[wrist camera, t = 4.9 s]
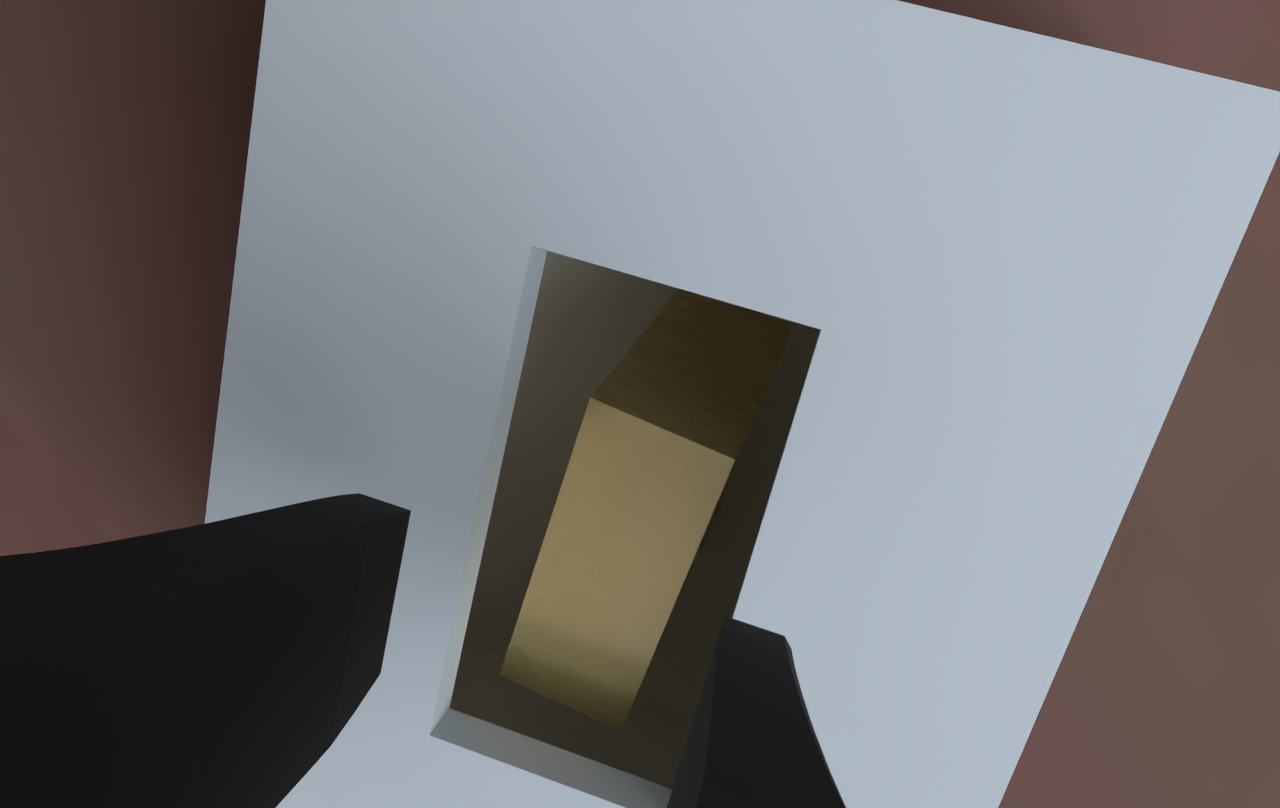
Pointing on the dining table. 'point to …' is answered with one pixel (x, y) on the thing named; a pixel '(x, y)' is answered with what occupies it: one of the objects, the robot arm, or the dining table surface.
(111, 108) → the dining table surface
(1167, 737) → the dining table surface
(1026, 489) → the tissue box
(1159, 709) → the dining table surface
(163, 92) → the dining table surface
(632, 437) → the tan wooden block
